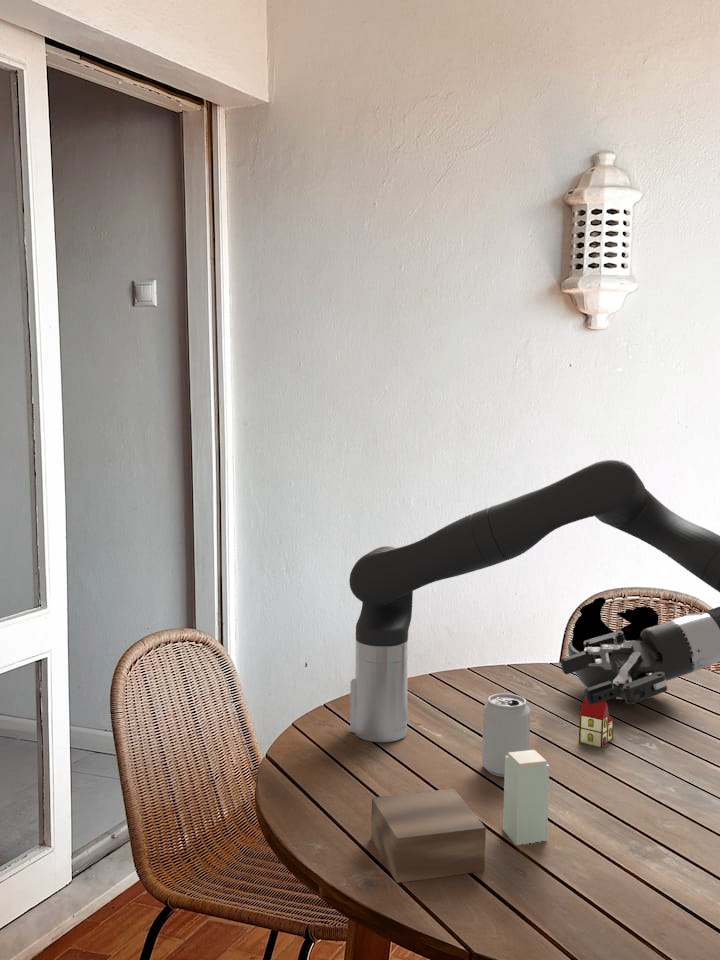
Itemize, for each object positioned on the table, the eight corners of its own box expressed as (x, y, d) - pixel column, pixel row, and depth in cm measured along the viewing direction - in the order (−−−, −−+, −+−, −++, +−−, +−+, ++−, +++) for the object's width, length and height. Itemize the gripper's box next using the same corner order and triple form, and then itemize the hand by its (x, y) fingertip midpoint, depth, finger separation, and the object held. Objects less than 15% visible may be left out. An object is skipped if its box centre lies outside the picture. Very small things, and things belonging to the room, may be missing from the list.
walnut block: (371, 838, 138) (371, 797, 137) (452, 828, 141) (453, 788, 140) (396, 882, 126) (397, 838, 125) (484, 871, 129) (485, 827, 128)
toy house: (578, 747, 171) (579, 702, 170) (580, 733, 178) (581, 690, 177) (612, 751, 170) (614, 705, 169) (613, 737, 176) (615, 693, 175)
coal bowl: (684, 717, 185) (689, 619, 183) (577, 715, 185) (581, 617, 183) (654, 681, 205) (658, 593, 203) (557, 680, 205) (560, 592, 203)
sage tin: (503, 829, 141) (505, 751, 139) (532, 826, 142) (535, 748, 140) (516, 845, 136) (518, 764, 135) (546, 841, 137) (549, 761, 136)
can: (527, 781, 157) (529, 708, 155) (480, 777, 158) (481, 704, 157) (529, 762, 164) (531, 692, 162) (483, 758, 165) (485, 689, 164)
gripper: (654, 601, 143) (549, 635, 141) (705, 645, 129) (590, 684, 128) (661, 646, 145) (558, 680, 143) (712, 693, 132) (599, 732, 130)
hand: (574, 682), depth 135 cm, fingers open, 8 cm apart
